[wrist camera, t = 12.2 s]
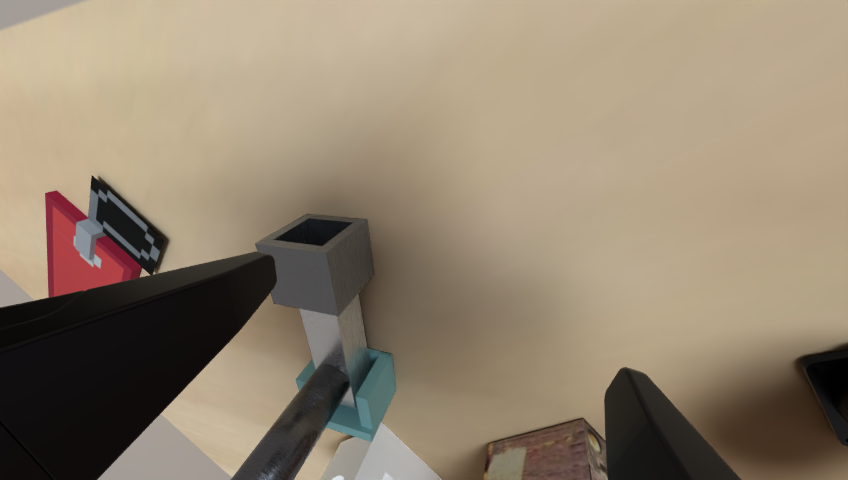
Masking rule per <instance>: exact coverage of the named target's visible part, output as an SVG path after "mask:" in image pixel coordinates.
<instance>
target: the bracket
mask: <svg viewBox="0 0 848 480" xmlns="http://www.w3.org/2000/svg"><path fill="white" fill-rule="evenodd" d="M321 480H442V479H441V478H440V477H439V476H438V475H437V474H436V473H435V472H434V471H433V470H432V469H430V468H429V467H428V466H427V465H426V464H425V463H424V462H423V461H422V460H421V459H420V458H419V457H418V456H417V455H416V454H415V453H414V452H413V451H411V450H410V449H409V448H408V447H407V446H406V445H405V444H404V443H403V442H402V441H401V440H400V439H399V438H398V437H397V436H396V435H395V434H394V433H392V432H391V431H390V430H389V429H388V428H387V427H386V426H385V425H384V424H383V423H382V422H381V423H380V426H379V428H378V430H377V432H376V434H375V436H374V439H373V441H372V442H369V441H366V440H363V439H360V438H357V437H353V438H351V439H348V440H345V441H343V442H341V443H340V445H339V447H338V449H337V450H336V452H335V454H334V456H333V458H332V460H331V461H330V463H329V465H328V467H327V469H326V471H325V472H324V474H323V476H322V478H321Z"/></svg>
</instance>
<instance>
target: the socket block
mask: <svg viewBox="0 0 848 480" xmlns="http://www.w3.org/2000/svg"><path fill="white" fill-rule="evenodd" d="M367 349H368V348H367ZM368 356H369V362H370V368H371V370H370V372H369V374H368V376H367V377H366V379H365V381H364V382H363V384H362V386H361V388H360V389H359V391H358V393H357V394H356V396H355V397H356V402H357V407H356V409H355V408H351V407H348V406H344V405H341V404H340V405H339V407H338V408H337V410H336V412H335V413H334V415H333V416H332V418H331V420H330V421H329V423H328V425H327V426H326V428H329V429H332V430H335V431H338V432H342V433H345V434H348V435H351V436H354V437H357V438H360V439H363V440H366V441H369V442H372V441H373V439H374V436H375V434H376V432H377V430H378V428H379V426H380V423H381V421H382V419H383V417H384V415H385V413H386V410H387V408H388V406H389V404H390V402H391V400H392V397H393V395H394V393H395V391H396V385H395V376H394V367H393V359H392V354H390V353H386V352H381V351H377V350H372V349H368ZM315 370H316V369H315V365H314V362H313V359H312V360H311V361H310V363H309V364H308V365H307V366H306V367H305V369H304V370H303V371H302V372H301V374H300V375H299V376H298V377H297V379H296V383H297V386H298V389H299V391H300V389H301V388H302V387H303V385H304V384H305V383H306V382H307V380H308V379H309V378H310V376H311V375H312V374H313V372H314V371H315Z"/></svg>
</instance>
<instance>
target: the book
mask: <svg viewBox="0 0 848 480" xmlns="http://www.w3.org/2000/svg"><path fill="white" fill-rule="evenodd" d="M483 480H608V478H607V466H606V441H605V440H604V439H603V438H602V437H601V436H600V435H599V434H598V433H597V432H596V431H595V430H594V429H593V428H592V427H591V426H590V425H589V424H588V422H587V421H586V420H585V419H581V420H577V421H573V422H569V423H566V424H562V425H558V426H554V427H550V428H547V429H543V430H539V431H535V432H531V433H528V434H524V435H520V436H516V437H513V438H509V439H505V440H501V441H497V442H494V443H490V444H489V445H488V450H487V457H486V464H485V471H484V478H483Z"/></svg>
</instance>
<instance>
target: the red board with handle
mask: <svg viewBox="0 0 848 480" xmlns="http://www.w3.org/2000/svg"><path fill="white" fill-rule="evenodd" d="M45 201H46V231H47V260H48V290H49V298H50V297H54V296H59V295H64V294H68V293H73V292H77V291H82V290H84V291H86V290H87V289H91V288H95V287H100V286H104V285H109V284H113V283H118V282H122V281H127V280H131V279H136V278H139V274H140V271H141V267H142V268H143V269H145V270H146V271H147V272H148V273H149V274H150V275H153V272H154V269H155V266H156V263H157V260H158V256H159V253H160V250H161V247H162V244H163V240H162V239H161V238H160V237H159V236H158V235H157V234H156V233H155V232H153V231H152V230H151V229H150V228H149V227H148V226H147V225H146V224H145V223H144V222H143V221H141V220H140V219H139V218H138V217H137V216H136V215H135V214H134V213H133V212H132V211H130V210H129V209H128V208H127V207H126V206H125V205H124V204H123V203H122V202H121V201H120V200H118V199H117V198H116V197H115V196H114V195H113V194H112V193H111V192H110V191H109V190H108V189H106V188H105V187H104V186H103V185H102V184H101V183H100V182H99V181H98V180H97V179H95V178H94V177H93V176H92V179H91V190H90V202H89V214H88V217H86V216H85V215H84V214H83V213H82V212H81V211H80V210H79V209H77V208H76V207H75V206H74V205H73V204H72V203H71V202H69V201H68V200H67V199H66V198H65V197H64V196H62V195H61V194H60V193H59V192H58V191H53V192H48V193H45Z"/></svg>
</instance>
